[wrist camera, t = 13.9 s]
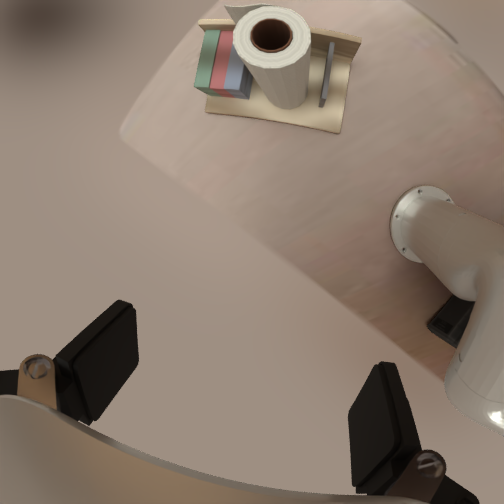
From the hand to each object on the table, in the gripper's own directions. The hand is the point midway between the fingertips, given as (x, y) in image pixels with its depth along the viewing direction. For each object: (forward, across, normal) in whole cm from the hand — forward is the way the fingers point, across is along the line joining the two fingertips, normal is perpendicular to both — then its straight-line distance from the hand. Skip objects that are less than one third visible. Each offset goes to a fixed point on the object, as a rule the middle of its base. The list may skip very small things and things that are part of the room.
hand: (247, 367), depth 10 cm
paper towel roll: (+35, +4, -17) cm, 39 cm away
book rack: (+36, +5, -18) cm, 41 cm away
